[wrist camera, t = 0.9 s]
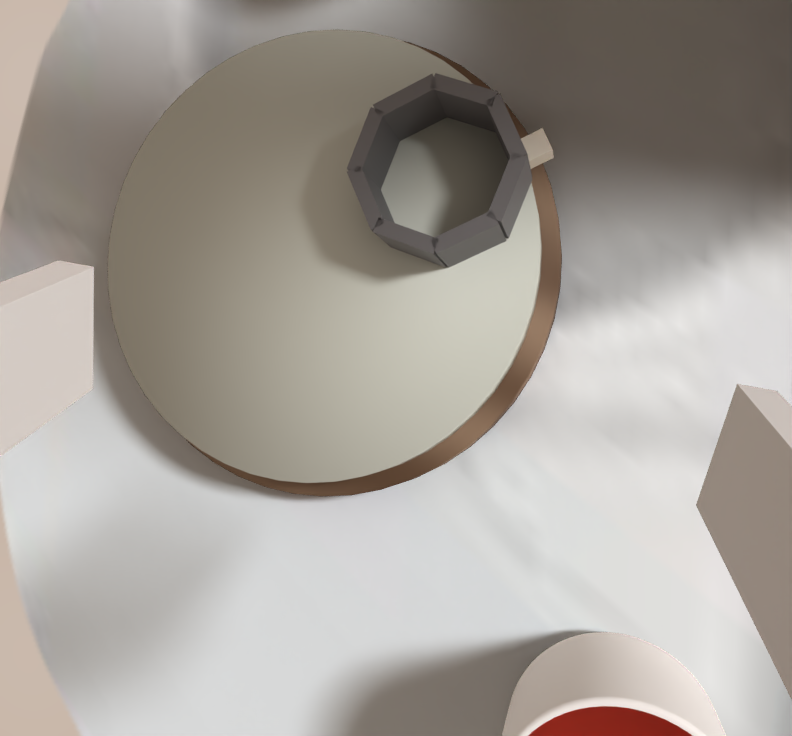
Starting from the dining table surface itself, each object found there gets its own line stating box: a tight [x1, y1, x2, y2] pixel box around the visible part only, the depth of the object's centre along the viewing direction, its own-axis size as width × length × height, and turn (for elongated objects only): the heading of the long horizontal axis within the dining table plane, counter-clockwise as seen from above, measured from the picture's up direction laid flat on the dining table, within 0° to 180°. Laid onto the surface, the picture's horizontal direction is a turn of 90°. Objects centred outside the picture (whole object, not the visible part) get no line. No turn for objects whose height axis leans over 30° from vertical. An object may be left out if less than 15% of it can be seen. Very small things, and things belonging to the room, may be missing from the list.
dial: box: [107, 30, 554, 483], centre depth 37 cm, size 25×23×5 cm
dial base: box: [186, 41, 562, 496], centre depth 41 cm, size 25×25×2 cm
